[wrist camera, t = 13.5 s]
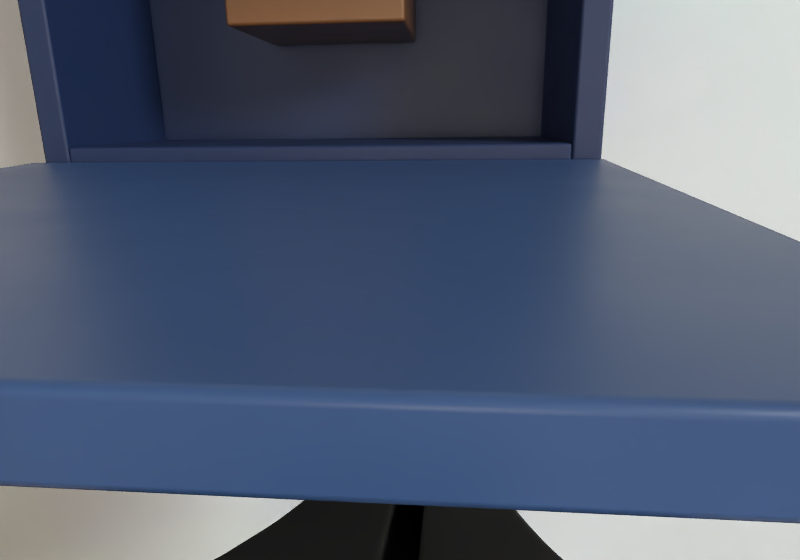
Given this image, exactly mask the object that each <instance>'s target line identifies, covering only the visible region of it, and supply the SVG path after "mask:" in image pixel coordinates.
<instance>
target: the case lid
mask: <svg viewBox="0 0 800 560" xmlns="http://www.w3.org/2000/svg"><path fill="white" fill-rule="evenodd" d="M0 486H20V487H41V488H62V489H83V490H105V491H126V492H147V493H168V494H190V495H211V496H232V497H253V498H274V499H296V500H317V501H338V502H359V503H380V504H402V505H423V506H444V507H465V508H486V509H508V510H529V511H550V512H571V513H593V514H614V515H635V516H656V517H677V518H699V519H720V520H741V521H762V522H783V523H800V242H799V241H797V240H794V239H792V238H790V237H787V236H785V235H782V234H780V233H778V232H775V231H773V230H770V229H768V228H766V227H763V226H761V225H759V224H756V223H754V222H751V221H749V220H747V219H744V218H742V217H740V216H737V215H735V214H732V213H730V212H728V211H725V210H723V209H721V208H718V207H716V206H713V205H711V204H709V203H706V202H704V201H701V200H699V199H697V198H694V197H692V196H690V195H687V194H685V193H682V192H680V191H678V190H675V189H673V188H671V187H668V186H666V185H663V184H661V183H659V182H656V181H654V180H652V179H649V178H647V177H644V176H642V175H640V174H637V173H635V172H633V171H630V170H628V169H625V168H623V167H621V166H618V165H616V164H613V163H611V162H609V161H606V160H604V159H556V160H408V161H259V162H111V163H31V164H25V165H18V166H12V167H6V168H0Z"/></svg>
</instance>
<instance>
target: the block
mask: <svg viewBox="0 0 800 560" xmlns="http://www.w3.org/2000/svg"><path fill="white" fill-rule="evenodd" d="M225 9H226V20H227V25H228V26H230V27H232V28H234V29H237V30H239V31H242V32H244V33H247V34H249V35H252V36H254V37H256V38H259V39H261V40H264V41H266V42H269V43H271V44H274V45H276V46H282V45H322V44H362V43H402V42H414V41H415V39H416V25H415V0H225Z"/></svg>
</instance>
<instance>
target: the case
mask: <svg viewBox="0 0 800 560" xmlns="http://www.w3.org/2000/svg"><path fill="white" fill-rule="evenodd" d="M18 5H19V10H20V16H21V22H22V27H23V33H24V39H25V45H26V50H27V56H28V62H29V67H30V73H31V79H32V84H33V90H34V96H35V102H36V107H37V113H38V119H39V124H40V130H41V136H42V142H43V147H44V153H45V159H46V163H111V162H259V161H408V160H556V159H601V150H602V137H603V125H604V112H605V100H606V87H607V75H608V62H609V50H610V37H611V25H612V12H613V0H415V25H416V39H415V41H414V42H402V43H362V44H322V45H282V46H276V45H274V44H271V43H269V42H266V41H264V40H261V39H259V38H256V37H254V36H252V35H249V34H247V33H244V32H242V31H239V30H237V29H234V28H232V27H230V26H228V25H227V20H226V9H225V0H18Z"/></svg>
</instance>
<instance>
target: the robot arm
mask: <svg viewBox="0 0 800 560" xmlns="http://www.w3.org/2000/svg"><path fill="white" fill-rule="evenodd" d="M214 560H563V559H562V558H560V557H559V556H558V555H557V554H556V553H555V552H554V551H553V550H552V549H551V548H550V547H549V546H548V545H547V544H546V543H545V542H544V541H543V540H542V539H541V538H540V537H539V536H538V535H537V534H536V533H535V532H534V530H533V529H532V528H531V527H530V526H529V525H528V524H527V523H526V522H525V520H524V519H523V518H522V517H521V516H520V515H519V513H518V512H517V511H516V510H508V509H486V508H465V507H444V506H423V505H402V504H380V503H359V502H338V501H317V500H304V501H303V502H302V503H300V504H299V505H298V506H297V507H295V508H294V509H293V510H291V511H290V512H289V513H287V514H286V515H285V516H283V517H282V518H280V519H279V520H278V521H276V522H275V523H273V524H272V525H271V526H269V527H267V528H266V529H264V530H263V531H261V532H259V533H258V534H256V535H254V536H253V537H251V538H250V539H248V540H246V541H245V542H243V543H242V544H240V545H238V546H237V547H235V548H233V549H232V550H230V551H229V552H227V553H225V554H223V555H222V556H220V557H218V558H216V559H214Z"/></svg>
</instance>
